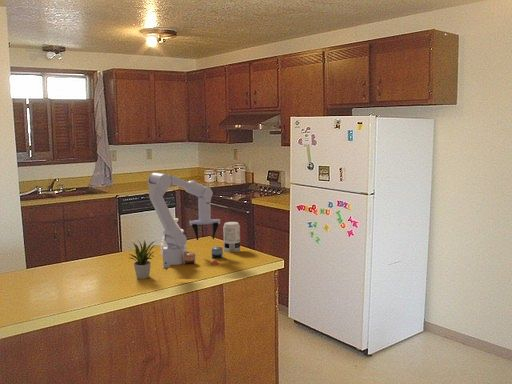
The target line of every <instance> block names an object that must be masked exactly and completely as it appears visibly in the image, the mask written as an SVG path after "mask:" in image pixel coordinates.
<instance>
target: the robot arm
mask: <svg viewBox="0 0 512 384" xmlns="http://www.w3.org/2000/svg"><path fill="white" fill-rule="evenodd" d="M146 182H147V184H148V196H149V197H148V198H149V201H150V202H151V204H152V206H153V207H154V210H155V212H156V214H157V216H158V219H159V220H160V222H161V225H162V227H163V228H164V229H163V232H162V233H163V236H164V239H165V242H166V243H167V246H168V247H164V248H163V256H162V265H163V266H162V268H163V269H165V268H166V269H169V268H170V267H171V265H174V266H176V265H177V266H178V265H182V264H183V265H184V254H185V252H184V245H185V244H186V243H187V241H188V238H187V235H185V234H184V232H183V233H182V231H181V230H180V229H179V228H178V227H177V226H176V224H175V222H174V220H173V219H174V217H173V215H172V213H171V212H170V209H169V207H168V205H167V203H166V201H165V199H164V195H165V194H166V192H167V191H168V189H169V188H170V187H171V186H176V187H180V188H183V189H184V191H185V192H186V193H188V194H190V195H194V196H196V197H197V198H198V199H197V202H198V203H197V205H198V219H195V220H189V226H191V227H192V229H193V231H194V233H195V234H194V235H195V238H196V241H198V240H199V228H198V225H211V228H212V229H211V231H212V233H211V237H212V240H214V239H215V236H216V233H217V230H218V227H219V225H220V224H221V219H220V218H211V217H212V216H211V215H212V213H211V208H212V207H211V201H212V197H213V195H214V192H213V191H212V188H211V187H209V186H204V184H202V183H198V182H197V181H196V180H193V179H192V180H189V181H186V180H185V179H182V178H179V177H177V176H176V175H171V174H168V173H160V172H152V173H150V175H149V177H148V179H147V181H146Z"/></svg>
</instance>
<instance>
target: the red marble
mask: <svg viewBox="0 0 512 384" xmlns="http://www.w3.org/2000/svg"><path fill="white" fill-rule="evenodd" d="M218 264H219V262H218V260H215V259H214V260H212V261H211V265H218Z"/></svg>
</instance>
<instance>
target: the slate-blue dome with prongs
mask: <svg viewBox="0 0 512 384" xmlns="http://www.w3.org/2000/svg"><path fill="white" fill-rule="evenodd" d="M223 252H224V248H223V246H222V247H221V246H214V247H211V259H213V258H215V257H220V258H221V259H223V257H224V256H223Z"/></svg>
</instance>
